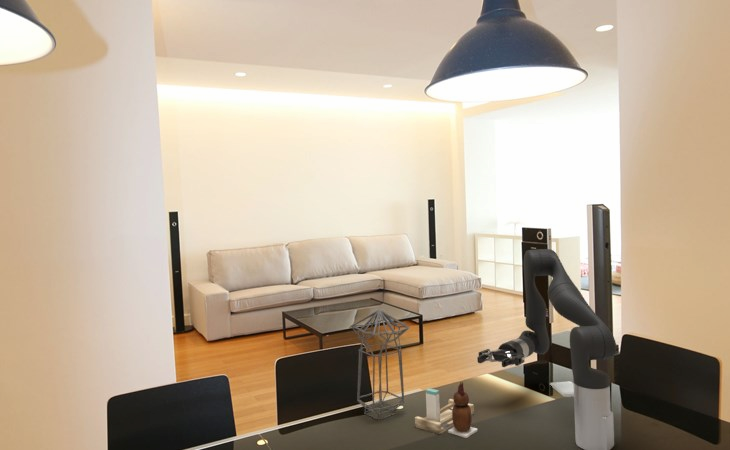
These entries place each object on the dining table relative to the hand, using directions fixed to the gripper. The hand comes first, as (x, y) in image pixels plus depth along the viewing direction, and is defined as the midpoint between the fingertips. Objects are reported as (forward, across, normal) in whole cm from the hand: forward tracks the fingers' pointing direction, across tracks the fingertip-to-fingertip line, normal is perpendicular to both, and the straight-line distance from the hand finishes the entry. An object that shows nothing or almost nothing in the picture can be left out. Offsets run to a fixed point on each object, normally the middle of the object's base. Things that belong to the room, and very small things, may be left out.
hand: (490, 362), depth 166 cm
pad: (+14, -2, +18) cm, 23 cm away
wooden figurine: (+14, -3, +18) cm, 23 cm away
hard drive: (-38, +10, +18) cm, 43 cm away
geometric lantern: (+18, -31, +18) cm, 40 cm away
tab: (+17, -11, +16) cm, 26 cm away
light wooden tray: (+10, -11, +18) cm, 24 cm away
